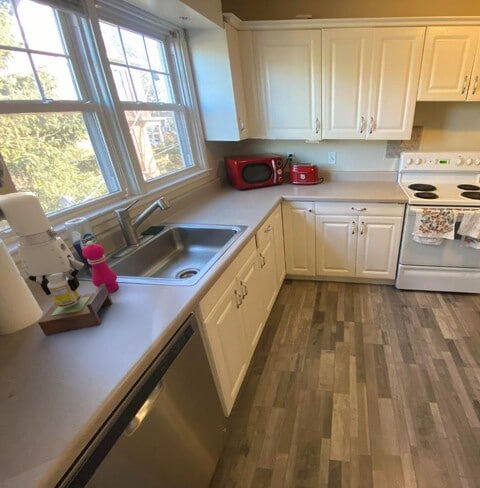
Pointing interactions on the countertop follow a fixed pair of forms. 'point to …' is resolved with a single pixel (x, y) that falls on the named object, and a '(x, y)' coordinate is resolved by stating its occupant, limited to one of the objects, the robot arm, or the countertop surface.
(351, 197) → the countertop surface
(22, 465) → the countertop surface
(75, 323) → the brown wooden box
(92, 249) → the pepper mill
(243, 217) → the countertop surface
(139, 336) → the countertop surface
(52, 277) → the supplement bottle
